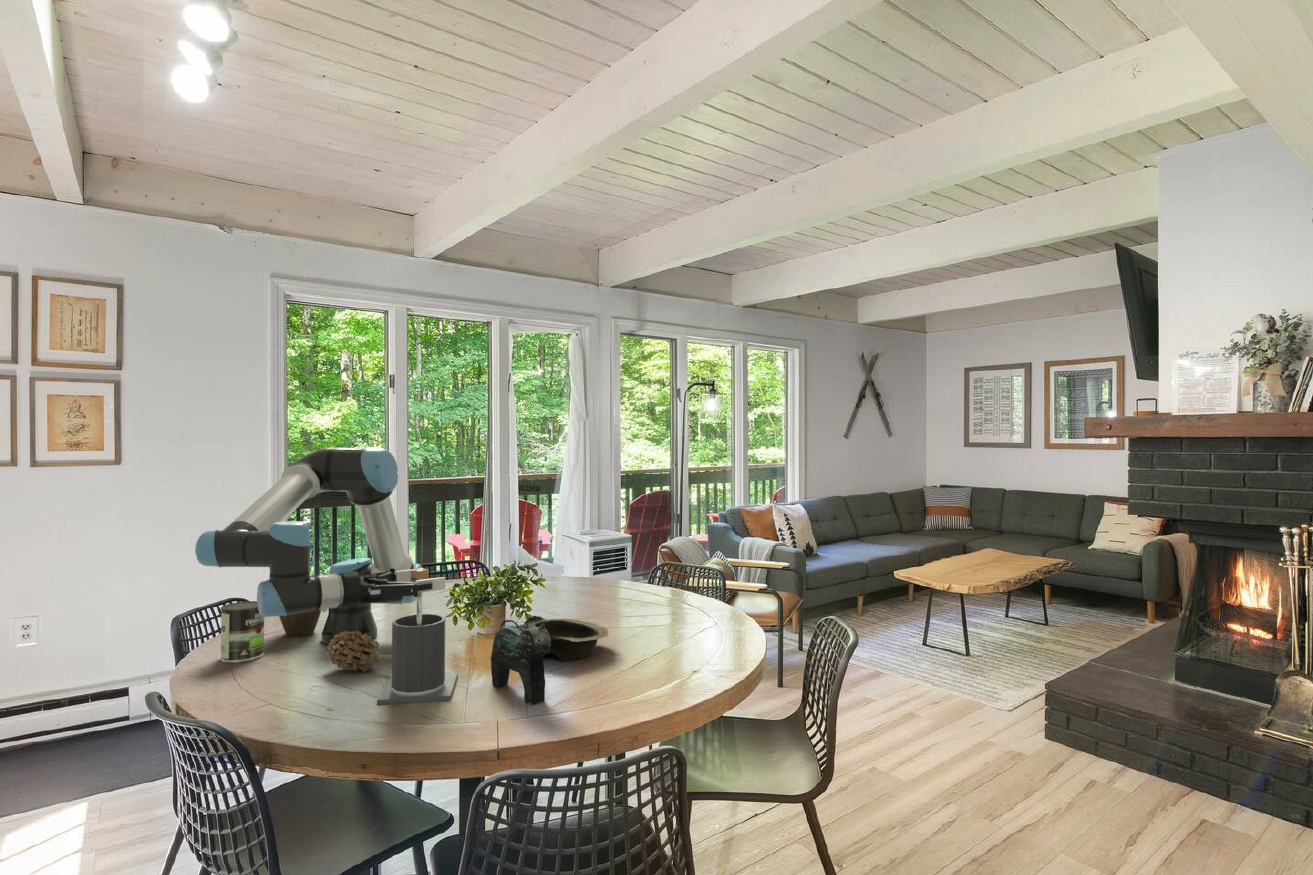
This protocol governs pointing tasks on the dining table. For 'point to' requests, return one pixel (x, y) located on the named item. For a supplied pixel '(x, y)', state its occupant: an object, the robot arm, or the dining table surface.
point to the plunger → (421, 575)
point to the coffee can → (241, 632)
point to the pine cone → (354, 651)
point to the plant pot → (300, 623)
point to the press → (418, 662)
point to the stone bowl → (569, 636)
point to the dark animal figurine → (521, 658)
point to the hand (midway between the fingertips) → (433, 578)
